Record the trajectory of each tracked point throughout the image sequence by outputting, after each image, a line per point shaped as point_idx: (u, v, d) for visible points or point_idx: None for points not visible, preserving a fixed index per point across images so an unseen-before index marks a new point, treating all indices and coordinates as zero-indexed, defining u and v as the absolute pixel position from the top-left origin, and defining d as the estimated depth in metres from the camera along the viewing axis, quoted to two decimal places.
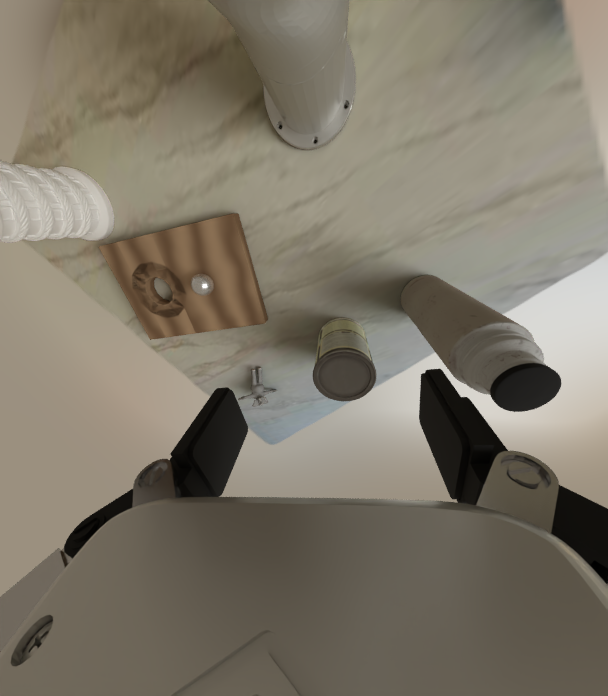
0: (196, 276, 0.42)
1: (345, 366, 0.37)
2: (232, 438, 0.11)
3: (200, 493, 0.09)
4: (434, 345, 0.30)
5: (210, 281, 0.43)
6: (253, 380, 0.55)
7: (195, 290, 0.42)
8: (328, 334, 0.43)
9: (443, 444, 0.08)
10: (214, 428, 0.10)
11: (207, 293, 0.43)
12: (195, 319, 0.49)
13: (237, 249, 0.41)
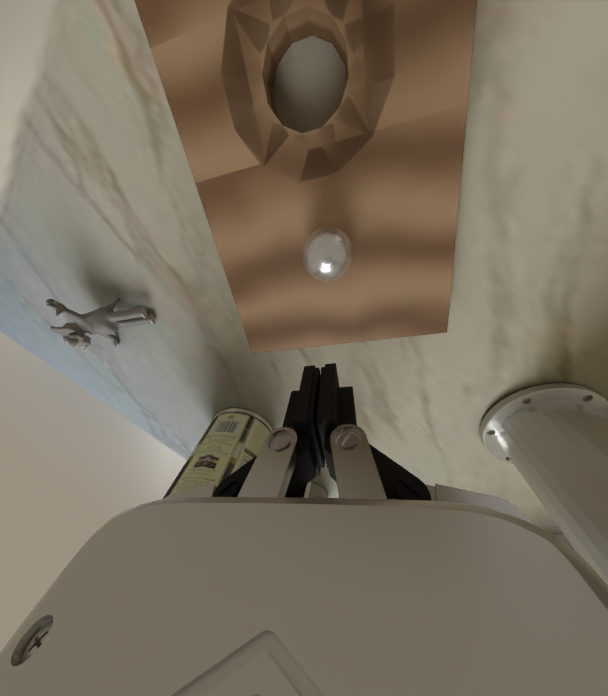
0: (350, 253, 0.17)
1: None
2: None
3: (314, 462, 0.09)
4: None
5: None
6: (118, 317, 0.26)
7: (318, 250, 0.17)
8: None
9: None
10: (317, 401, 0.10)
11: (309, 271, 0.18)
12: (234, 192, 0.19)
13: (386, 328, 0.23)
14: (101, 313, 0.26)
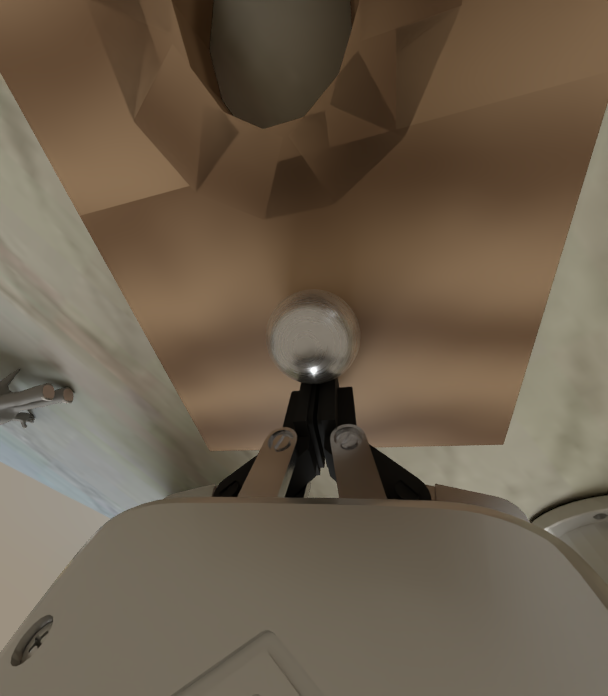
0: (354, 338, 0.09)
1: None
2: None
3: (314, 462, 0.09)
4: None
5: None
6: (8, 403, 0.18)
7: (289, 330, 0.08)
8: None
9: None
10: (317, 401, 0.10)
11: (275, 364, 0.10)
12: (150, 234, 0.11)
13: (408, 435, 0.15)
14: None
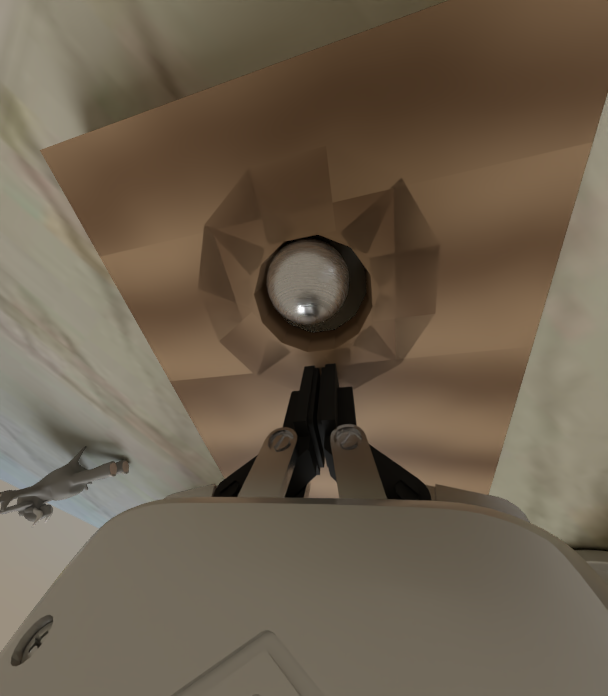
0: (344, 298, 0.11)
1: None
2: None
3: (314, 462, 0.09)
4: None
5: None
6: (83, 481, 0.22)
7: (293, 310, 0.10)
8: None
9: None
10: (317, 401, 0.10)
11: None
12: (220, 394, 0.15)
13: None
14: (62, 480, 0.22)
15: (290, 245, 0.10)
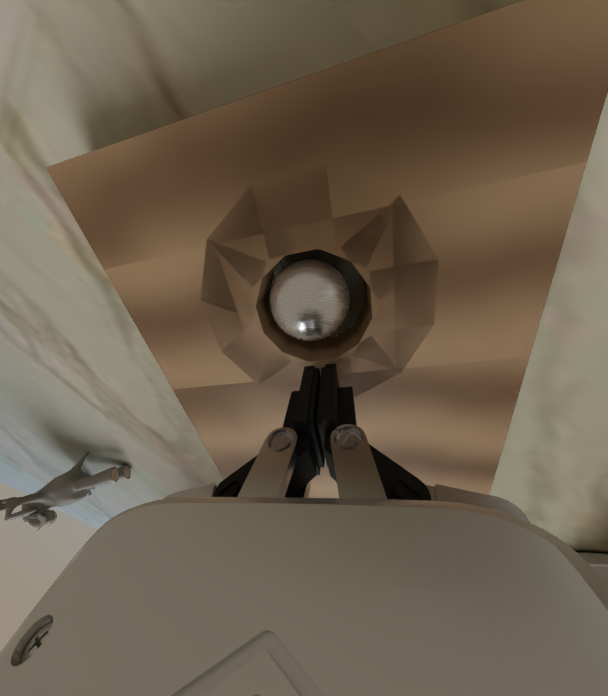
0: (345, 317, 0.11)
1: None
2: None
3: (314, 462, 0.09)
4: None
5: None
6: (85, 487, 0.23)
7: (297, 333, 0.11)
8: None
9: None
10: (317, 401, 0.10)
11: None
12: (222, 401, 0.15)
13: None
14: (65, 486, 0.22)
15: (292, 270, 0.10)
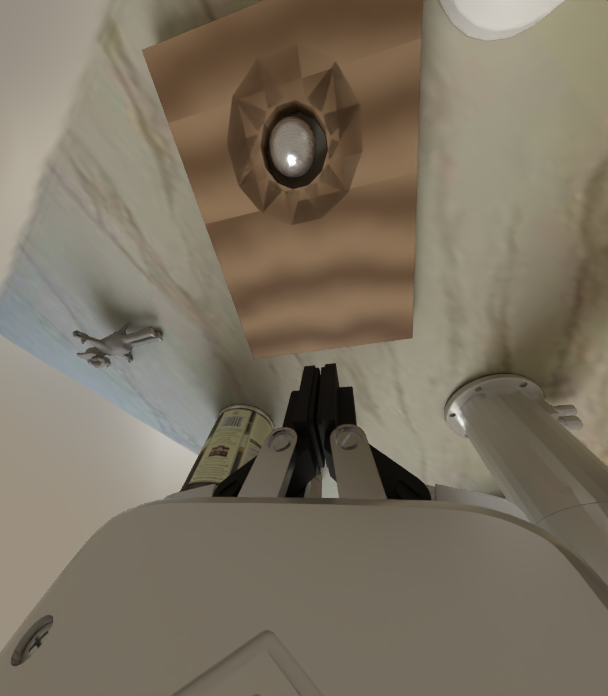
0: (313, 156, 0.20)
1: None
2: None
3: (314, 462, 0.09)
4: None
5: None
6: (132, 338, 0.31)
7: (286, 165, 0.20)
8: (257, 447, 0.34)
9: None
10: (317, 401, 0.10)
11: None
12: (238, 232, 0.23)
13: (364, 336, 0.28)
14: (117, 337, 0.30)
15: (281, 121, 0.18)
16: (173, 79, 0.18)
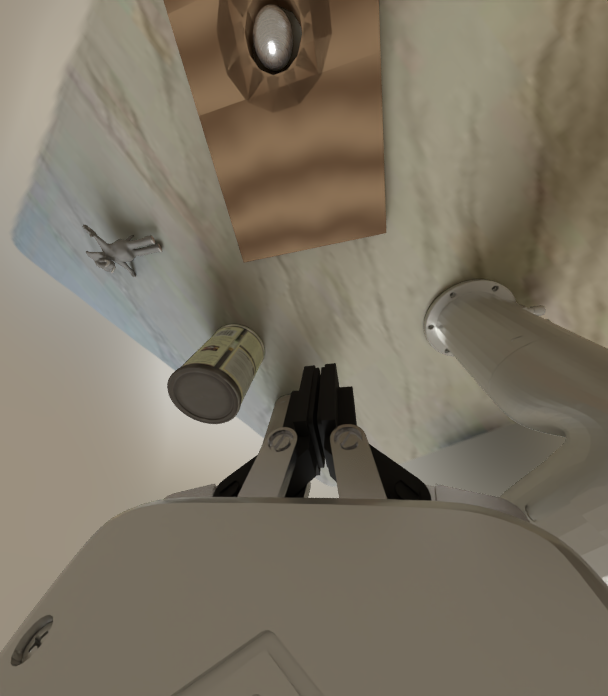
0: (290, 46, 0.23)
1: (218, 398, 0.32)
2: None
3: (314, 462, 0.09)
4: None
5: None
6: (134, 243, 0.34)
7: (268, 54, 0.23)
8: (246, 353, 0.37)
9: None
10: (317, 401, 0.10)
11: (262, 62, 0.25)
12: (227, 123, 0.27)
13: (342, 232, 0.31)
14: (121, 241, 0.34)
15: (262, 9, 0.22)
16: None
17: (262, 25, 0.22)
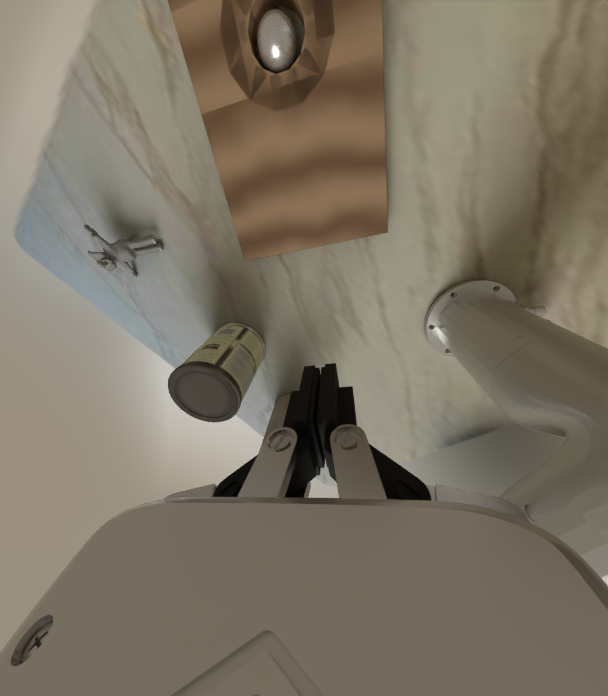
0: (294, 52, 0.24)
1: (218, 396, 0.32)
2: None
3: (314, 462, 0.09)
4: None
5: None
6: (135, 243, 0.34)
7: (273, 62, 0.24)
8: (247, 352, 0.37)
9: None
10: (317, 401, 0.10)
11: None
12: (229, 121, 0.27)
13: (344, 232, 0.31)
14: (122, 241, 0.34)
15: (266, 16, 0.22)
16: None
17: (267, 34, 0.22)
